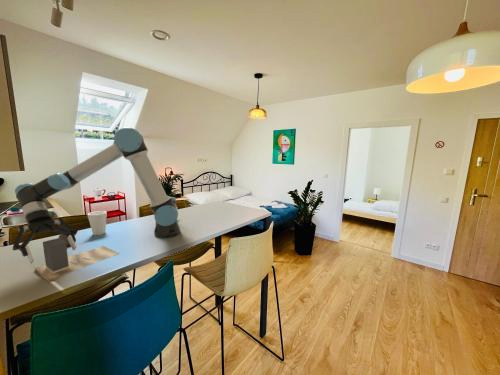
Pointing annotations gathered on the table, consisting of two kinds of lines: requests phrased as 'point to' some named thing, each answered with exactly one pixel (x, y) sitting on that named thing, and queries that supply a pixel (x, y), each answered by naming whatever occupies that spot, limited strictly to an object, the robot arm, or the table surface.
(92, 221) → the foam cup
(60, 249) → the block
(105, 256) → the board
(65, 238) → the vase
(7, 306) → the table surface
